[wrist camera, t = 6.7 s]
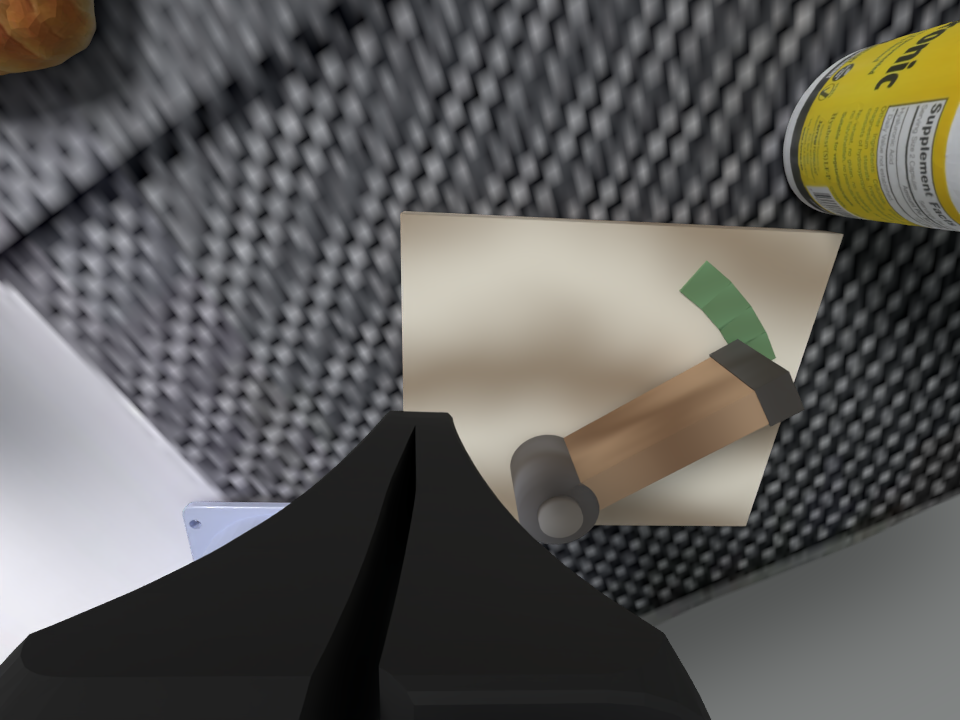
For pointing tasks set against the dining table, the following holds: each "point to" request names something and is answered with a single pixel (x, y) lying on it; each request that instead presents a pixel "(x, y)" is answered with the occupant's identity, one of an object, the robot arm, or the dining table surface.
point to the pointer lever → (647, 440)
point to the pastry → (43, 32)
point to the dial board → (599, 335)
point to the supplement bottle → (883, 133)
